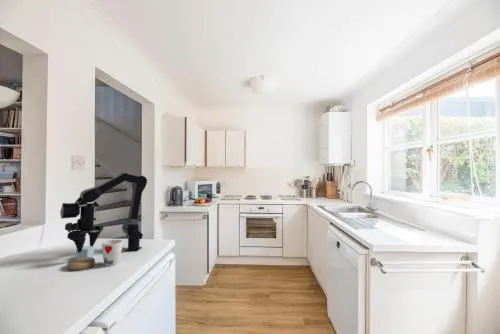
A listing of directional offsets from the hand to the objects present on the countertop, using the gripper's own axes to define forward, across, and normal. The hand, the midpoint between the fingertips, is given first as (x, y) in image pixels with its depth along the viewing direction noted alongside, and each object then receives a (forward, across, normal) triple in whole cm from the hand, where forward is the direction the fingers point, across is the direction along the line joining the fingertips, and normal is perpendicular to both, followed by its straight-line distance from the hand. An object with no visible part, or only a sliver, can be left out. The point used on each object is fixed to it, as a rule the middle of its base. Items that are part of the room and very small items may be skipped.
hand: (85, 249), depth 124 cm
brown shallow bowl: (+4, +11, +5) cm, 13 cm away
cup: (+4, +7, +16) cm, 18 cm away
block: (+4, 0, 0) cm, 4 cm away
